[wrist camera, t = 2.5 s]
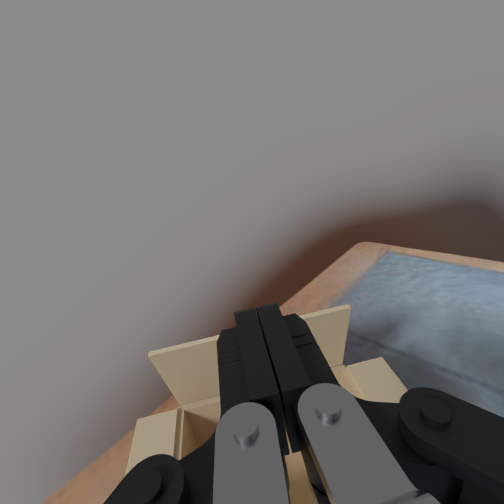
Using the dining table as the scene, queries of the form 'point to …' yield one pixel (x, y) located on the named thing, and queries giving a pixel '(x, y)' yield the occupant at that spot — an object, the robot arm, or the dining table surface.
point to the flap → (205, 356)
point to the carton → (208, 415)
